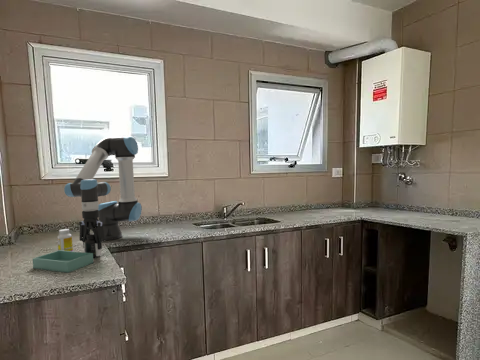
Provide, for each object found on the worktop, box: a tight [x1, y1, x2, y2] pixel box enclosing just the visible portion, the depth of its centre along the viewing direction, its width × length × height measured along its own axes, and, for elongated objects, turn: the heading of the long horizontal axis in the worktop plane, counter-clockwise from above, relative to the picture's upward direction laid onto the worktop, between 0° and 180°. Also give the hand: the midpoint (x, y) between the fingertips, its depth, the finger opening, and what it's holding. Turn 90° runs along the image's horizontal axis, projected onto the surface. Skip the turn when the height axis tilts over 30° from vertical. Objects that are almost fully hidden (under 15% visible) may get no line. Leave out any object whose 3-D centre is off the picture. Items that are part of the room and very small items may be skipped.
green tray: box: [32, 250, 94, 274], centre depth 138 cm, size 14×22×5 cm, turn 70°
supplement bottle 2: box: [85, 232, 101, 260], centre depth 150 cm, size 7×7×12 cm
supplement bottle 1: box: [57, 228, 74, 251], centre depth 158 cm, size 7×7×13 cm
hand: (92, 255), depth 150 cm, fingers closed on supplement bottle 2, 7 cm apart
